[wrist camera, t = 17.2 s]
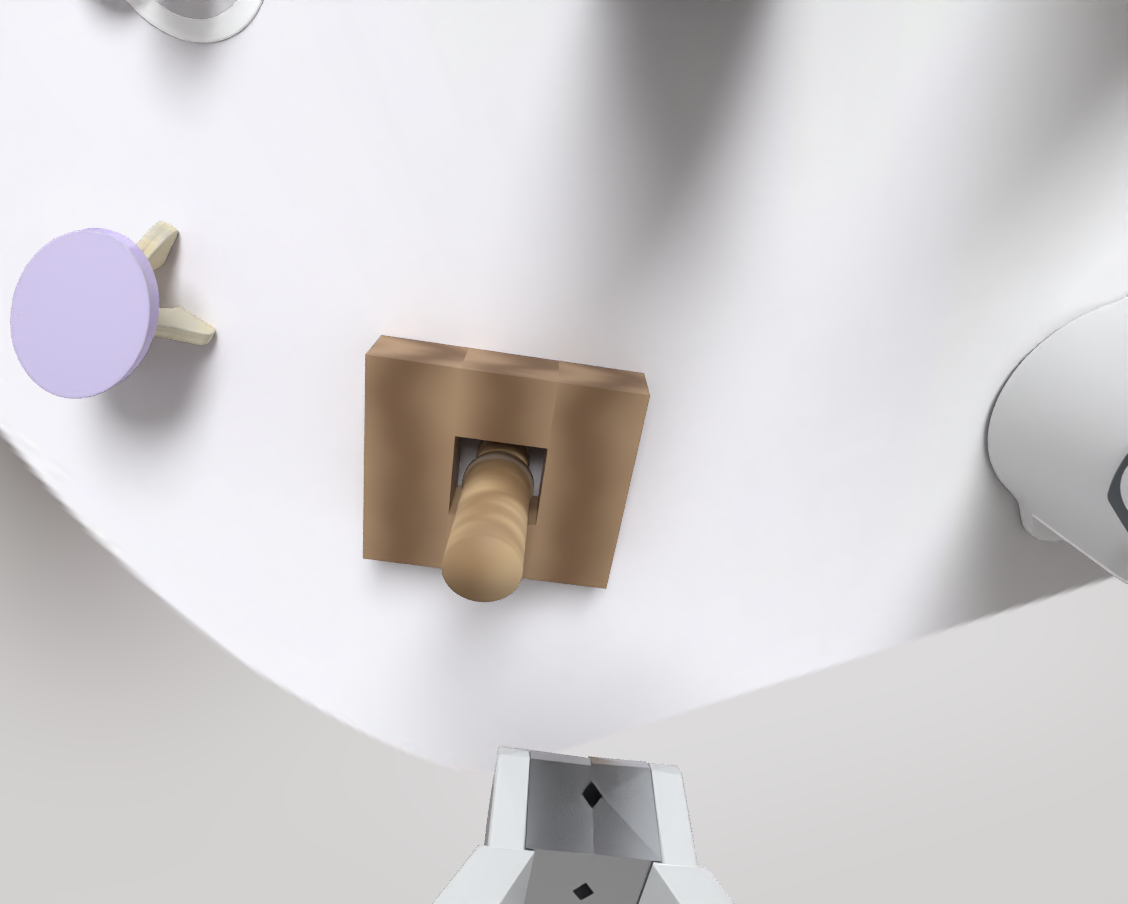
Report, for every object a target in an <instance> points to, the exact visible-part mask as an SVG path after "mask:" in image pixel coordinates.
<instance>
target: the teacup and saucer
mask: <svg viewBox="0 0 1128 904" xmlns="http://www.w3.org/2000/svg"><path fill="white" fill-rule="evenodd" d="M126 1H127V2H128V3H129V4H130V5H131V6H132V7H133V8H134V10H135V11H136V12H138V13H139V14H140V15H141V16H142V17H143V18H144V19H145V20H147V21H148V22H149V23H151V24H152V25H153V26H155V27H156V28H158V29H159V30H161V31H163V32H165V33H167V34H169V35H171V36H173V37H176V38H179V39H182V40H185V41H190V42H196V43H211V42H217V41H221V40H224V39H227V38H230V37H232V36H233V35H235V34H237V33H238V32H240V31H241V30H242V29H244V28H245V27H246V26H247V25H248V24H249V23H250V22H251V20H252V19H253V18H254V16H255V15H256V13H257V12H258V10H259V8H260V6H261V4H262V1H263V0H236V2H235V3H234V4H233V5H232V6H231V7H230V8H229V9H228V10H226V11H225V12H223V13H222V14H220V15H217V16H215V17H212V18H206V19H193V18H187V17H183V16H180V15H178V14H175V13H173V12H171V11H169V10H168V9H166V8H164V7H163V6H161V5H160V4H159V3H157V2H156V1H155V0H126Z"/></svg>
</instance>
